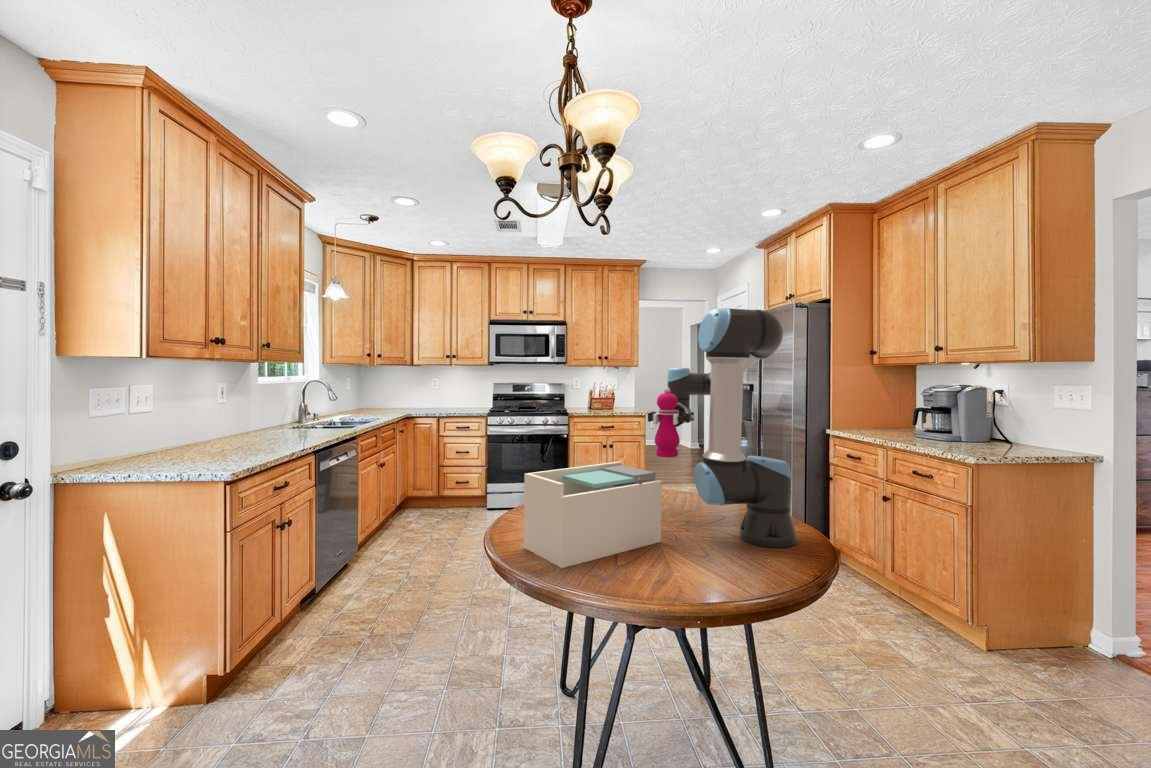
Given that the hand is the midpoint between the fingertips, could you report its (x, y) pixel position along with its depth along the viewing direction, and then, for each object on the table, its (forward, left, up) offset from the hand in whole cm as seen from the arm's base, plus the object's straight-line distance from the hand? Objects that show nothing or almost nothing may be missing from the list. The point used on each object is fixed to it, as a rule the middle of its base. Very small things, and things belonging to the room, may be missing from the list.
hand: (664, 419), depth 144 cm
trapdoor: (+8, +14, -19) cm, 25 cm away
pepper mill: (+3, -4, -11) cm, 12 cm away
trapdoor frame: (+8, +19, -34) cm, 40 cm away
